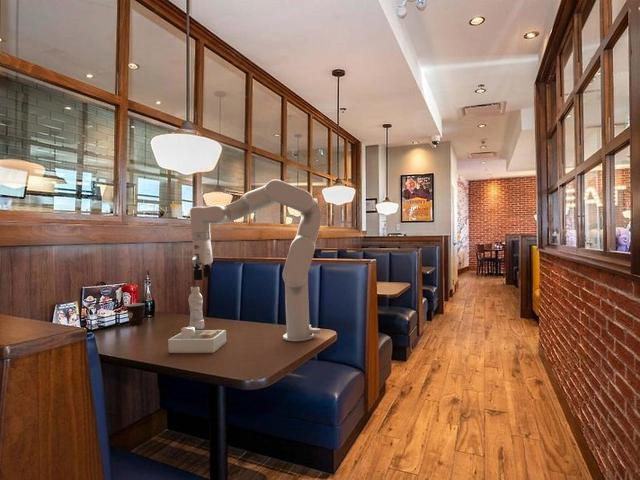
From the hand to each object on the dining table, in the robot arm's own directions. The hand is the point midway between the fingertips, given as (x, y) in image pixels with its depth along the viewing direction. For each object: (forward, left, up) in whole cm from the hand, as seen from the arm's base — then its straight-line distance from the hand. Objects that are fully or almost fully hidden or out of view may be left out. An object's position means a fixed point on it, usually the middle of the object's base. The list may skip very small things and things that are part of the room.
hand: (203, 278), depth 161 cm
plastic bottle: (+12, -19, -26) cm, 35 cm away
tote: (0, +8, -26) cm, 27 cm away
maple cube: (-4, +8, -25) cm, 27 cm away
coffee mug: (+49, -32, -26) cm, 64 cm away
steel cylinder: (+3, +9, -25) cm, 27 cm away
